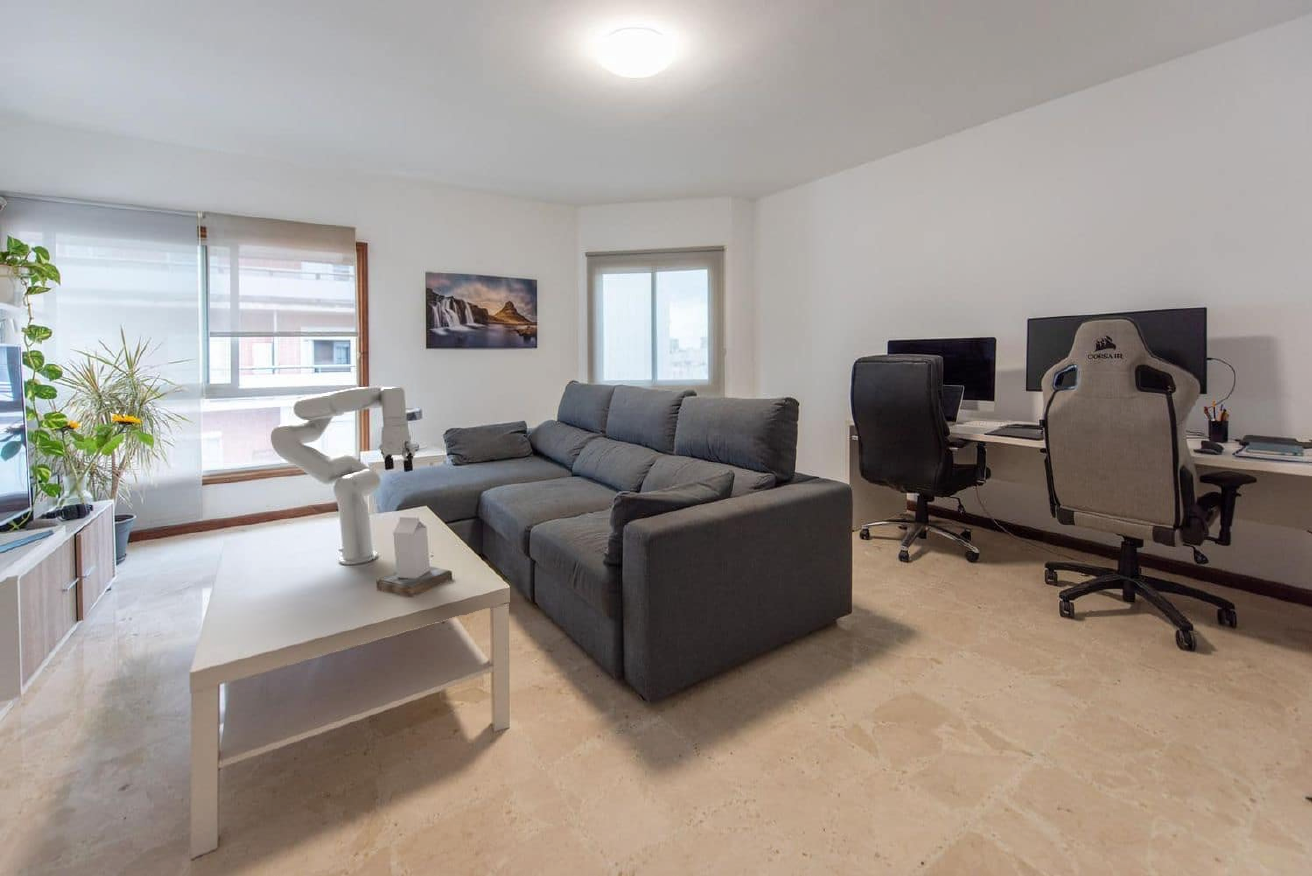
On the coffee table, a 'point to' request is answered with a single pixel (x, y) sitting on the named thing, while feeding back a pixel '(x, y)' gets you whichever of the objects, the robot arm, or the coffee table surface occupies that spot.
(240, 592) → the coffee table surface
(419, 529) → the milk carton
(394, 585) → the framed mirror
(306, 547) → the coffee table surface
